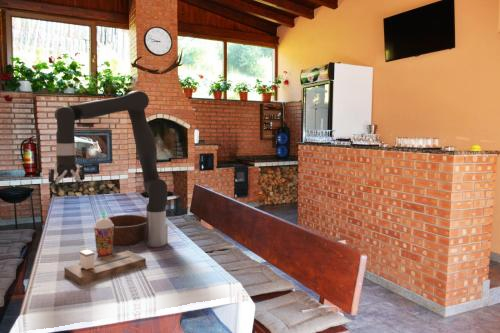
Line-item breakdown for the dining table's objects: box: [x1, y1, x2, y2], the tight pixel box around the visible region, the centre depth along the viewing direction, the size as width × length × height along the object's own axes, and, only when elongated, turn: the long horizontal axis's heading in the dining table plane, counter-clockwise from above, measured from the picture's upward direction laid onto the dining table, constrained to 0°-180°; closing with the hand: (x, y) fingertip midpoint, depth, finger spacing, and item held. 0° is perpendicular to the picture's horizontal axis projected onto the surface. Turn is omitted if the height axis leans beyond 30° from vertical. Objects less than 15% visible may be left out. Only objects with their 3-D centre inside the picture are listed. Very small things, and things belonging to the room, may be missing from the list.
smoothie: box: [93, 211, 114, 258], centre depth 176 cm, size 8×8×20 cm
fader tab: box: [79, 249, 95, 269], centre depth 153 cm, size 3×5×6 cm, turn 48°
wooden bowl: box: [106, 214, 147, 247], centre depth 198 cm, size 25×25×10 cm
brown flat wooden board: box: [64, 250, 147, 286], centre depth 159 cm, size 28×14×3 cm, turn 138°
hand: (67, 191), depth 167 cm, fingers open, 8 cm apart
